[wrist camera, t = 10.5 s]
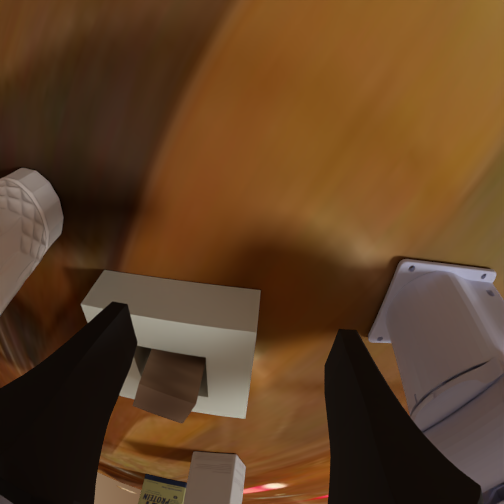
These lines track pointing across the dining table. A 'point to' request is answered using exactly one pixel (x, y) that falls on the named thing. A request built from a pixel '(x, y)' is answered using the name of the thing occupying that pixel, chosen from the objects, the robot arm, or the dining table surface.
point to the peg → (170, 384)
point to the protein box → (162, 491)
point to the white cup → (25, 227)
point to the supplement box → (215, 479)
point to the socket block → (188, 332)
